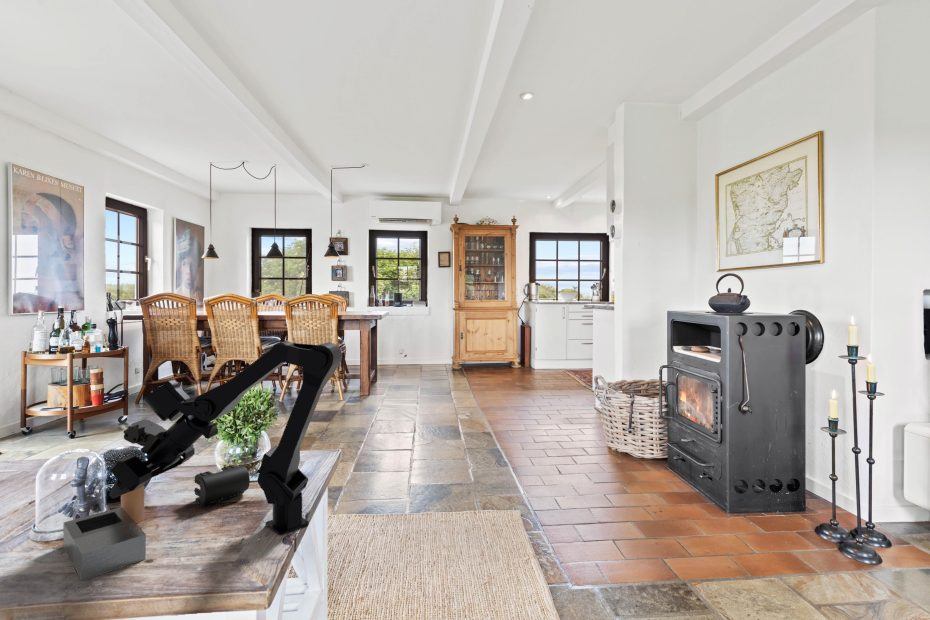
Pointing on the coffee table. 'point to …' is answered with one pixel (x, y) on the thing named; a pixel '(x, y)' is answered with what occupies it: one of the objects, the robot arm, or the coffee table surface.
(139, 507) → the plug
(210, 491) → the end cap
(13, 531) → the coffee table surface
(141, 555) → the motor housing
